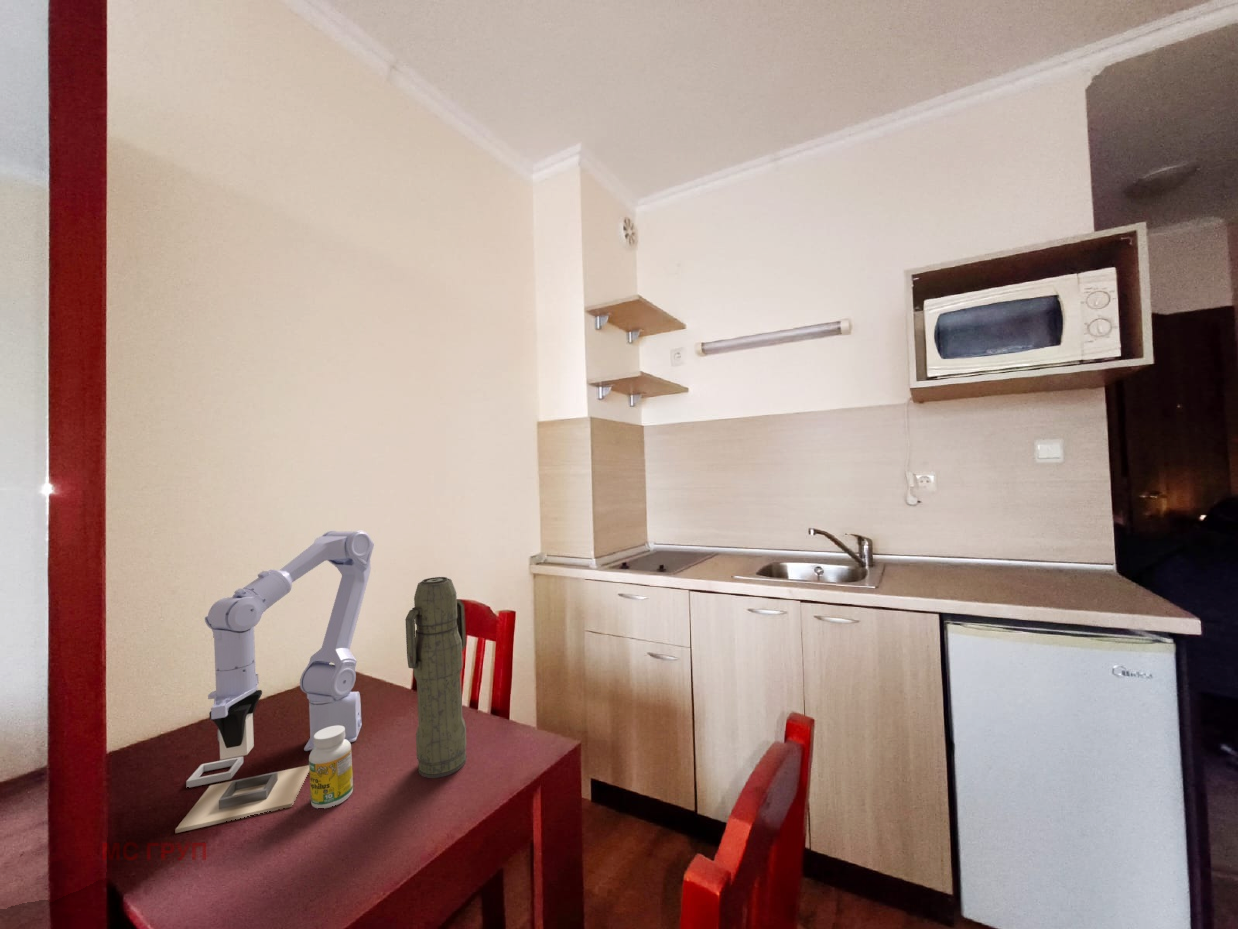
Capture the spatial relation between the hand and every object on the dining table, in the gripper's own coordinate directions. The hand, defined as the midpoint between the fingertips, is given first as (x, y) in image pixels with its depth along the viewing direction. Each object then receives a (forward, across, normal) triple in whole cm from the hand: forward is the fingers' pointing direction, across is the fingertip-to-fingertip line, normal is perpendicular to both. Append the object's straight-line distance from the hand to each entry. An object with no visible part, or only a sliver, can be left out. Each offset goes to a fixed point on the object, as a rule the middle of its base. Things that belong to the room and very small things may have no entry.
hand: (238, 741), depth 89 cm
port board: (+9, +3, +2) cm, 10 cm away
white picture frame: (+9, -8, -7) cm, 14 cm away
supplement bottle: (+9, +9, +16) cm, 21 cm away
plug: (+2, 0, 0) cm, 2 cm away
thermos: (+9, +6, +34) cm, 36 cm away
